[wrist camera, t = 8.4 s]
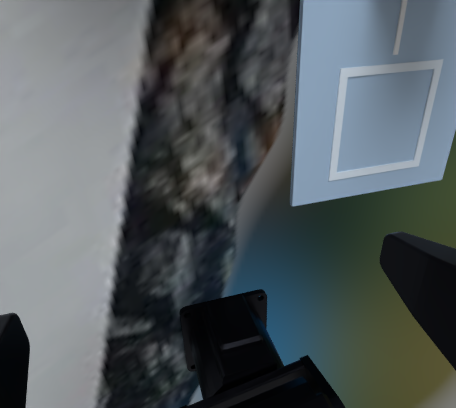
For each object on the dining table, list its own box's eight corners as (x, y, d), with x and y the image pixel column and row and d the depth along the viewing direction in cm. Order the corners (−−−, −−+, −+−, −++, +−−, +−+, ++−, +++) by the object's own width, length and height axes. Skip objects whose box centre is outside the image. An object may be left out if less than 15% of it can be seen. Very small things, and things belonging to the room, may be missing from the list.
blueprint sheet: (437, 177, 27) (443, 180, 27) (289, 203, 24) (292, 207, 24) (554, -262, 17) (565, -269, 16) (315, -301, 14) (322, -311, 13)
